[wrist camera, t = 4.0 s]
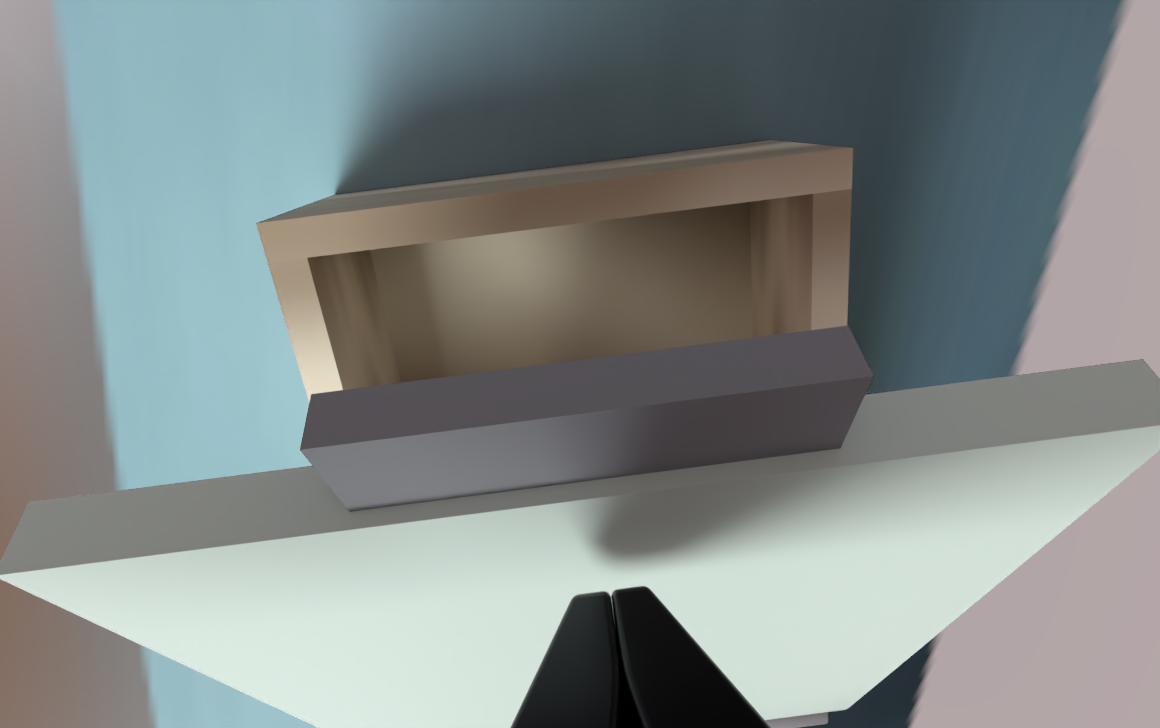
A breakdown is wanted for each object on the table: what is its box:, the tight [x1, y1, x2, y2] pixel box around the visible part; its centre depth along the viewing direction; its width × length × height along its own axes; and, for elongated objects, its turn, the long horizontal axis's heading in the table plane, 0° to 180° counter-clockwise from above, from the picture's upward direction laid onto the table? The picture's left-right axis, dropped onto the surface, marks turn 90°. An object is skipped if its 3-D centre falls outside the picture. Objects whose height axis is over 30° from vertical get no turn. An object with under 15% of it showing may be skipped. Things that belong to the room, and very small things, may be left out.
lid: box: [0, 326, 1160, 728], centre depth 12 cm, size 16×12×1 cm
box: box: [256, 140, 853, 403], centre depth 18 cm, size 14×12×5 cm
